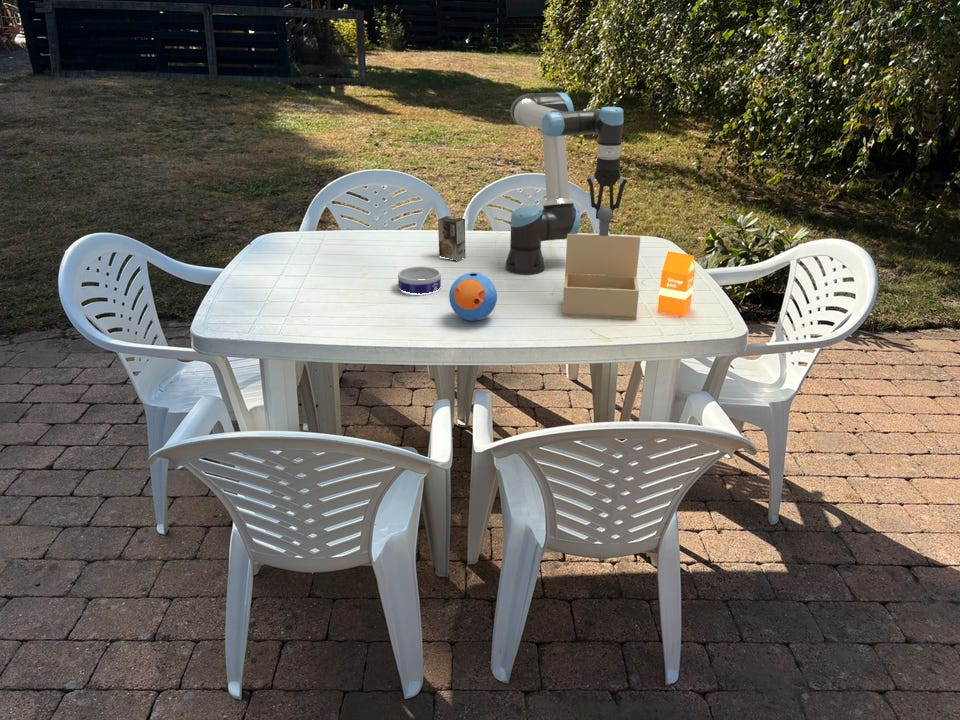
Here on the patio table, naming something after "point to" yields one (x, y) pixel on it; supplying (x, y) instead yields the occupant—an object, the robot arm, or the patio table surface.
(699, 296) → the patio table surface
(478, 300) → the treat dispenser ball
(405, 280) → the dog bowl
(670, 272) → the orange juice
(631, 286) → the carton
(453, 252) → the coffee box
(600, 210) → the carton lid
